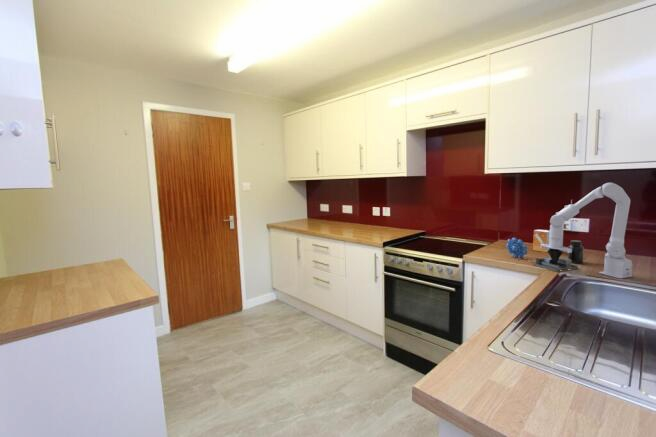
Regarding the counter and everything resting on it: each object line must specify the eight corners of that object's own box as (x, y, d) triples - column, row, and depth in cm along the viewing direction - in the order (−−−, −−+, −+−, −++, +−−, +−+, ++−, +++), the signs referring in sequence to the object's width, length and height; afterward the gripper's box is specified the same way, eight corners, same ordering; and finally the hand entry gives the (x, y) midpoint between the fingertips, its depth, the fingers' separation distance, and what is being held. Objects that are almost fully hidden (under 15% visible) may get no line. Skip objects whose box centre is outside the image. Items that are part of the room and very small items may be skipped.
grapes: (502, 257, 190) (503, 237, 189) (507, 255, 195) (507, 236, 193) (524, 260, 181) (525, 240, 180) (528, 258, 186) (529, 238, 184)
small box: (532, 250, 204) (533, 230, 202) (538, 248, 207) (539, 229, 205) (546, 252, 197) (547, 231, 195) (551, 251, 200) (552, 230, 198)
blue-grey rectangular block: (555, 264, 167) (556, 258, 167) (549, 265, 166) (549, 259, 166) (543, 261, 174) (544, 256, 173) (537, 262, 173) (537, 256, 172)
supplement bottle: (579, 260, 176) (580, 239, 175) (585, 264, 170) (587, 242, 168) (565, 260, 178) (566, 239, 177) (570, 263, 172) (571, 242, 170)
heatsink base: (577, 268, 163) (578, 260, 162) (556, 271, 159) (557, 263, 159) (552, 262, 176) (552, 254, 176) (532, 264, 173) (532, 257, 172)
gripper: (576, 239, 158) (574, 265, 160) (546, 235, 172) (545, 259, 173) (567, 241, 156) (566, 267, 157) (538, 236, 169) (537, 261, 171)
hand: (554, 263), depth 165 cm, fingers closed
